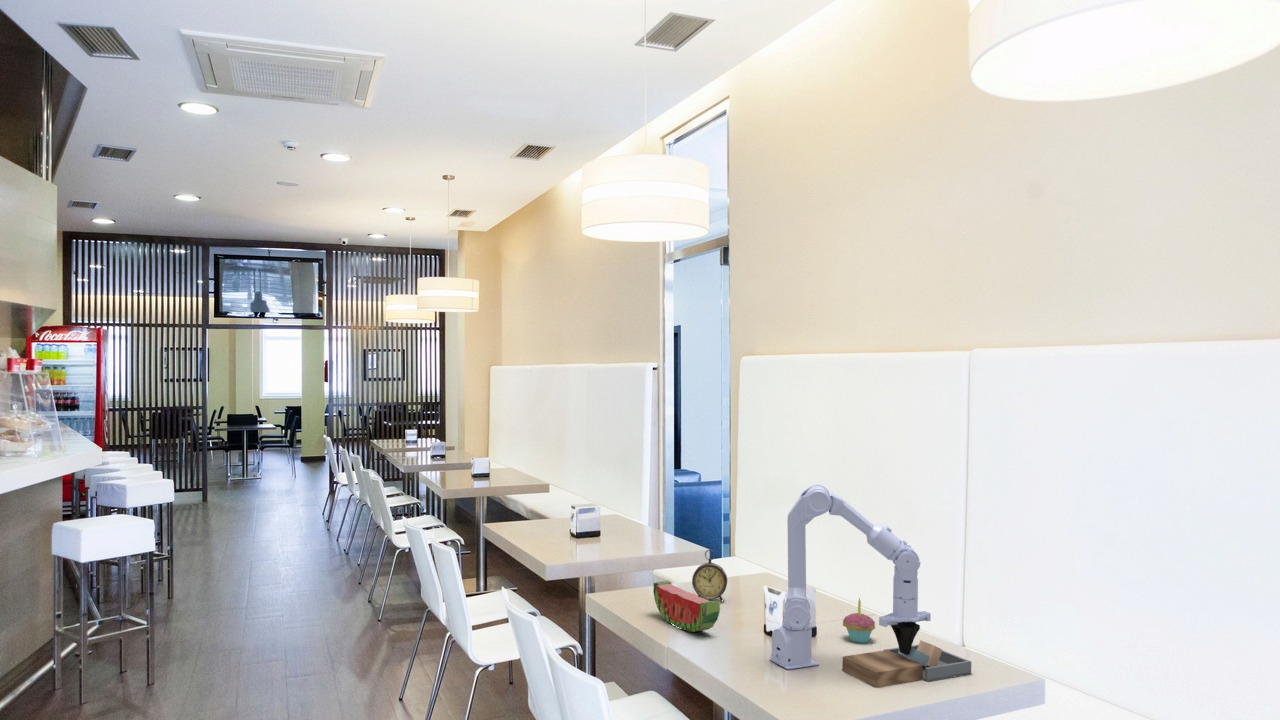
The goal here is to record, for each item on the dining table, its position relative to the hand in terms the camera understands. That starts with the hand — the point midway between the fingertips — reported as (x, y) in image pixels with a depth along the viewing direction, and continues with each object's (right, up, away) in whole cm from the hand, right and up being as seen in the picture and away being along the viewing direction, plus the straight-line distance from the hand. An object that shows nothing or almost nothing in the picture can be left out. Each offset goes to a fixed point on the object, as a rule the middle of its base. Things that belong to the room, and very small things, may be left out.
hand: (904, 653), depth 201 cm
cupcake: (-5, -5, +24) cm, 25 cm away
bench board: (-6, -4, -3) cm, 8 cm away
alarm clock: (-42, -6, +62) cm, 75 cm away
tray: (+6, -5, +3) cm, 8 cm away
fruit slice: (-52, -5, +33) cm, 62 cm away
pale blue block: (+2, -2, +1) cm, 3 cm away
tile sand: (+6, -1, +2) cm, 6 cm away
